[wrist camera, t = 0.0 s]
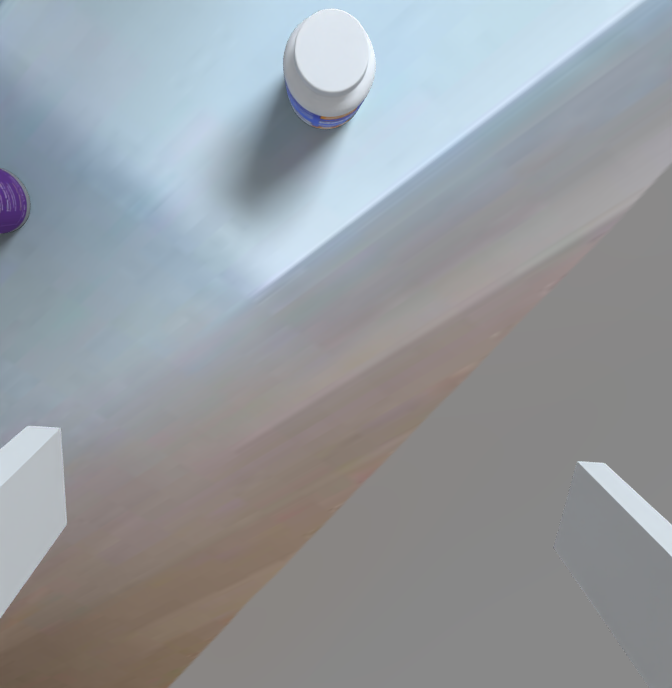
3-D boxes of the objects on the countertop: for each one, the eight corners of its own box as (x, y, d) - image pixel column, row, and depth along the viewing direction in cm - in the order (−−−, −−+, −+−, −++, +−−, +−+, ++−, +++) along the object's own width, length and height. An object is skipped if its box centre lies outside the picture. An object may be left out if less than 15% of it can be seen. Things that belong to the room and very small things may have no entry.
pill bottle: (322, 146, 37) (327, 132, 27) (270, 84, 35) (258, 46, 26) (379, 92, 36) (404, 59, 26) (328, 26, 34) (337, -33, 25)
